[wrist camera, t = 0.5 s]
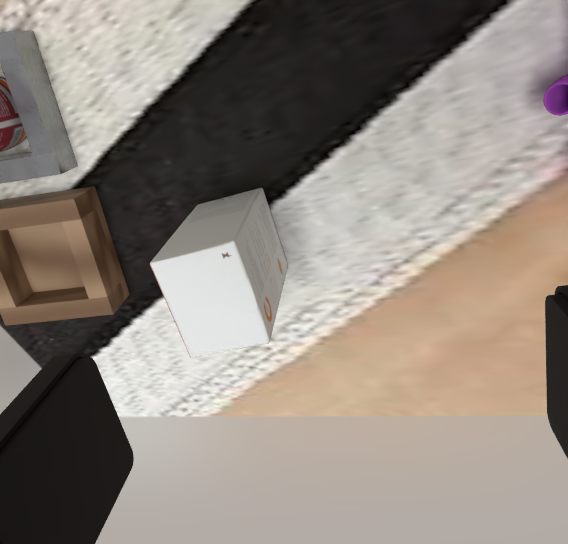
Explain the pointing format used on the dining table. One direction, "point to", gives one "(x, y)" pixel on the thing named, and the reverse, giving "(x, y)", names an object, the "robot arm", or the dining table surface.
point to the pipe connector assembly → (557, 97)
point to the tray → (57, 258)
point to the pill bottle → (9, 119)
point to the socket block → (33, 112)
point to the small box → (223, 274)
